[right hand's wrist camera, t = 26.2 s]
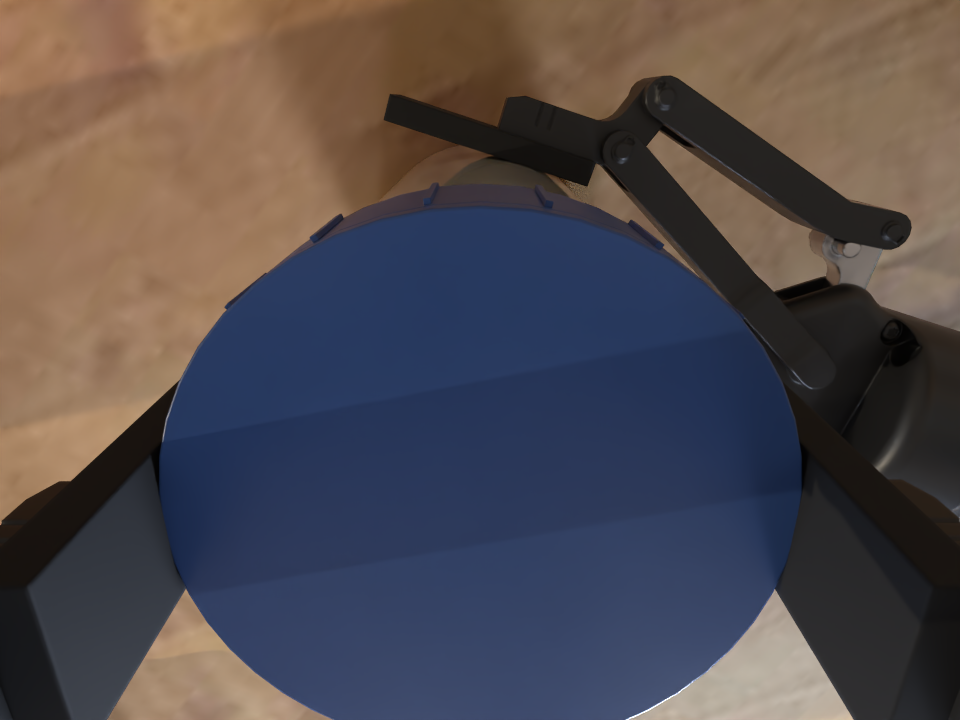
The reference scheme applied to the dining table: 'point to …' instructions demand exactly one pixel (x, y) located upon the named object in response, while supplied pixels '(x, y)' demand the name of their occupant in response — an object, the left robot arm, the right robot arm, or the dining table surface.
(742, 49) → the dining table surface
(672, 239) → the left robot arm
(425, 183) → the jar
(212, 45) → the dining table surface
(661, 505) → the lid
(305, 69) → the dining table surface
